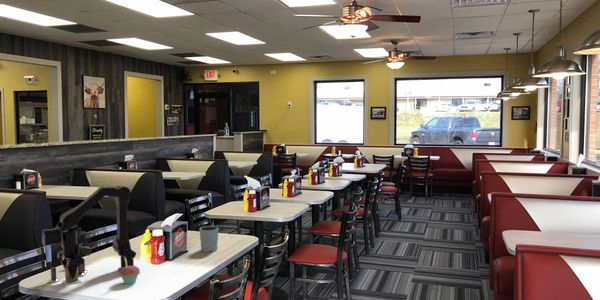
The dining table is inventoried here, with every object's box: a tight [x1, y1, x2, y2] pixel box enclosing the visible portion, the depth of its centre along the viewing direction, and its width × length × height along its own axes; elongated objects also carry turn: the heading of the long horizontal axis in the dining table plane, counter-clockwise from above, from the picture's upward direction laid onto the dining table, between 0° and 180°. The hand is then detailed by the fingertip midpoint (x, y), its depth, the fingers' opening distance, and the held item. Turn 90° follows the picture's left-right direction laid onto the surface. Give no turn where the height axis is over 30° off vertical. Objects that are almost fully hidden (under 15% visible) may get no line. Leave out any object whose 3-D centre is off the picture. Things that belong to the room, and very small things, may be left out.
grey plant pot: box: [199, 225, 219, 253], centre depth 251 cm, size 10×10×12 cm
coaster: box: [62, 278, 82, 286], centre depth 205 cm, size 6×6×1 cm
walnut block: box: [64, 267, 79, 283], centre depth 205 cm, size 4×4×6 cm
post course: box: [48, 259, 88, 284], centre depth 216 cm, size 19×17×6 cm
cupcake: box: [118, 256, 141, 285], centre depth 203 cm, size 9×8×12 cm
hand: (71, 276), depth 205 cm, fingers open, 4 cm apart
